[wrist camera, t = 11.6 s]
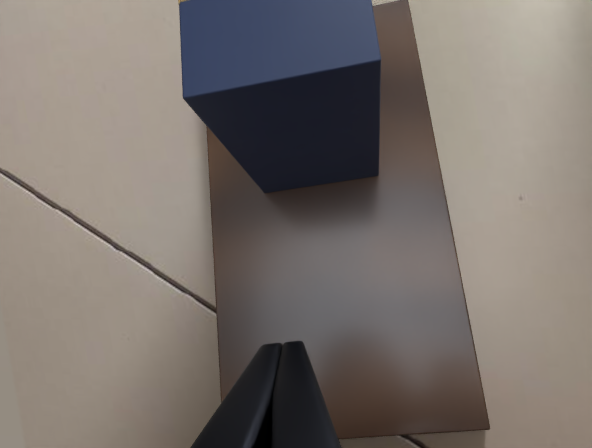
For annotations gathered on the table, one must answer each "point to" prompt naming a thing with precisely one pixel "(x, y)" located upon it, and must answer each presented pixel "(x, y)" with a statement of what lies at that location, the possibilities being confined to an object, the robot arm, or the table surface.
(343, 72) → the navy box
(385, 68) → the walnut board
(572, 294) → the table surface
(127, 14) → the table surface
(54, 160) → the table surface
